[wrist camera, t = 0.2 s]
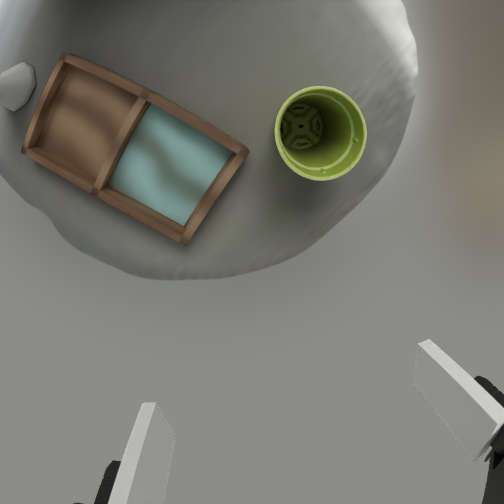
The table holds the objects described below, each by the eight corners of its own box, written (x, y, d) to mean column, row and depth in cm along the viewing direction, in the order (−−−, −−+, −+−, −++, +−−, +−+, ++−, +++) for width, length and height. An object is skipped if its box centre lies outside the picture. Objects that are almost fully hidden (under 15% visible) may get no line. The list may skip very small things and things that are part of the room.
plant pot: (267, 167, 33) (282, 187, 26) (254, 94, 28) (267, 90, 21) (336, 157, 33) (368, 174, 26) (329, 87, 28) (362, 85, 21)
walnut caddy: (74, 54, 21) (62, 52, 19) (247, 147, 31) (249, 151, 29) (32, 147, 26) (20, 152, 24) (187, 235, 36) (185, 245, 34)
